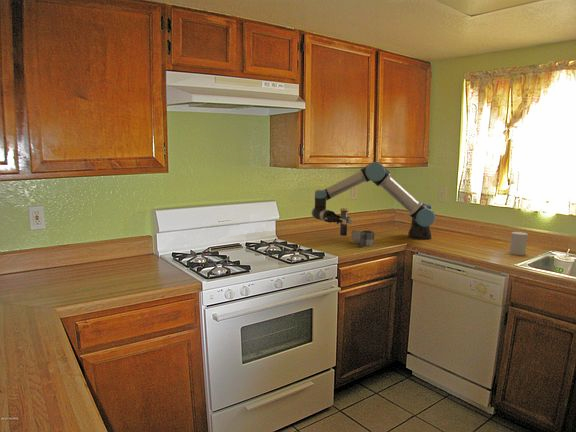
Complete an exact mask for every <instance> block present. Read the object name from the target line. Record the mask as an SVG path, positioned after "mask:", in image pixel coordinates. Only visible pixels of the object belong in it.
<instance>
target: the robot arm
mask: <svg viewBox="0 0 576 432" xmlns="http://www.w3.org/2000/svg"><path fill="white" fill-rule="evenodd" d="M370 181H371V182H372V183H374V185H376V186H377V187H382V189H383V190H385V191H386V193H387V194H389V195H390V196H391V197H393V198H394V200H396V201H397V202H398V203H399V204H400V205H401V206H402V207H403V208H404V209H405V210H406V211H407V212H408V216H410V218H411V225H410V228H409V230H408V233H407V237H408V238H409V239H410V238H411V239H414V240H424V241H425V240H431V239H432V237H433V236H432V231H431V226H432V225H433V224H434V223H435V221H436V215H435V212H434V210H432V204H430V203H424V202H423V201H419V200H417V199H416V197H414V196H413V195H412V194H410V192H408V190H407V189H405V187H403V186H402V185H401V184H400V183H399V182H397V180H395V178H393V177H392V175H391V172H390V171H389V170H388V169H387V168H386V167H385V166H384V165H383V164H382V163H380V162H378V161H373V162H372V161H371V162H369V163H368V164H367V165H366V166H364V167H363V168H361V169H359V171H358V172H356V173H353V174H352V175H350V176H348V177H346V178H344V179H342V180H340V181H338V182H336V183H334V184H332V185H331V186H328V187H326V188H325V189H316V190H315V191H314V207H313V208H312V211H311V216H312V217H313V218H314V219H316V220H319V221H324V223H326V222H327V223H330V224H331V223H336V224H339V225H340V224H341V223H342V224H345V225H346V220H345V219H341V214H340V215H339V214H338V213H337V214H336V212H335V211H332V210H329V209H327V201H329V200H330V199H332V198H335V197H336V196H337V197H338V196H339V195H341V194H342V193H344V192H346V191H349V190H350V189H352V188H354V187H356V186H358V185H360V184H362V183H368V182H370ZM347 224H351V225H353V224H354V219H353V218H350V217H349V215H347Z"/></svg>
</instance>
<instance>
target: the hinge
mask: <svg viewBox="0 0 576 432" xmlns="http://www.w3.org/2000/svg"><path fill="white" fill-rule="evenodd" d="M351 243H352V244H359V248H361V249H362V248H364V247H374V245H375V231H372V230H359V229H358V230H357V229H352V230H351Z"/></svg>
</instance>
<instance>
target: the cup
mask: <svg viewBox="0 0 576 432" xmlns="http://www.w3.org/2000/svg"><path fill="white" fill-rule="evenodd" d="M528 235H529V234H528V233H527V232H524V231H522V232H520V231H511V236H510V242H509V243H510V245H509V253H508V254H511V255H516V256H526V252H527V242H528Z"/></svg>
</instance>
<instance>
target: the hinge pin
mask: <svg viewBox="0 0 576 432" xmlns="http://www.w3.org/2000/svg"><path fill="white" fill-rule="evenodd" d="M348 212H349V208H346V207H344V208H343V207H341V208H340V216H341V219H345V220H346V225H345V224H342V223H339V225H340V230H339V231H340V232H339V234H340V236H342V237H346V236H347V234H348V223H347V216H348Z"/></svg>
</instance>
